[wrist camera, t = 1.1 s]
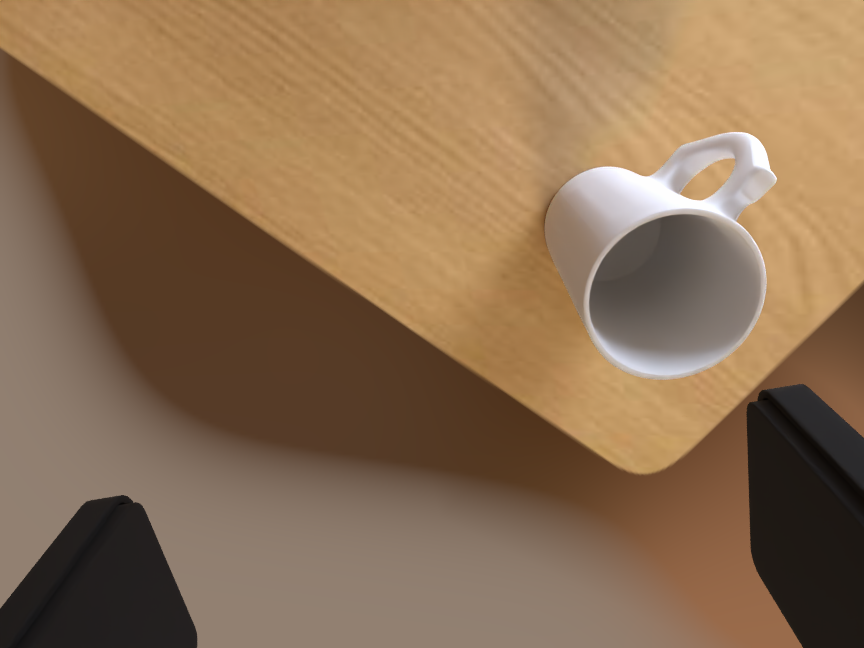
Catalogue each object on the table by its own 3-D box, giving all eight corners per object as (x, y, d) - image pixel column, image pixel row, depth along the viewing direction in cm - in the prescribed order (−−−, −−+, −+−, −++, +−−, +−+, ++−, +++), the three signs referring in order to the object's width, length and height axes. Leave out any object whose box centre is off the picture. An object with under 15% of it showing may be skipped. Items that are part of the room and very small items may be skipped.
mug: (605, 307, 38) (675, 411, 27) (512, 237, 37) (545, 315, 25) (736, 162, 35) (876, 210, 24) (641, 79, 34) (742, 89, 22)
